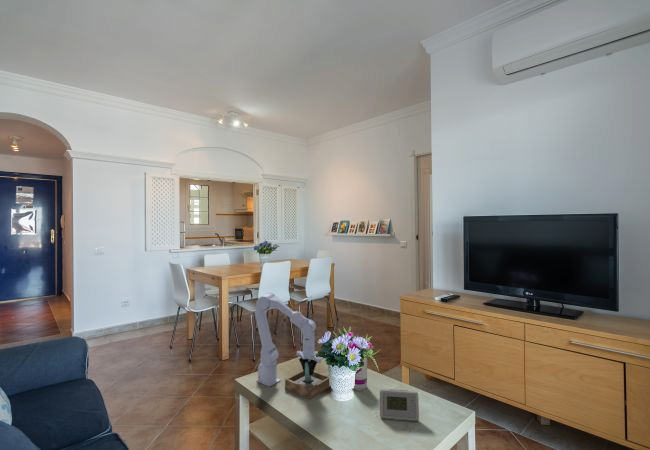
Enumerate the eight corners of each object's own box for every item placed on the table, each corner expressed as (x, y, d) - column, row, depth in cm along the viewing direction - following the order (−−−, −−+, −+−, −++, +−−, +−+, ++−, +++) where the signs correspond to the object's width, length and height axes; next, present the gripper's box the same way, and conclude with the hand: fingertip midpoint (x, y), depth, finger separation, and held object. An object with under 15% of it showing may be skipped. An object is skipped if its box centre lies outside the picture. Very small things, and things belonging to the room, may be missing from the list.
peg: (303, 381, 165) (303, 363, 165) (307, 378, 167) (307, 360, 167) (308, 383, 163) (308, 364, 163) (312, 380, 166) (312, 362, 165)
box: (285, 388, 164) (285, 379, 164) (306, 376, 177) (306, 368, 177) (309, 399, 154) (310, 389, 154) (330, 386, 167) (331, 377, 167)
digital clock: (377, 419, 139) (378, 393, 139) (381, 407, 148) (381, 383, 148) (418, 427, 134) (418, 400, 134) (419, 414, 143) (419, 389, 143)
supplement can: (361, 392, 161) (361, 361, 160) (346, 387, 166) (347, 357, 165) (369, 386, 167) (370, 356, 167) (355, 381, 172) (356, 352, 172)
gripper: (292, 344, 166) (292, 372, 167) (314, 352, 158) (314, 380, 158) (301, 340, 172) (301, 367, 172) (324, 347, 163) (323, 375, 163)
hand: (308, 373), depth 165 cm, fingers closed on peg, 3 cm apart
